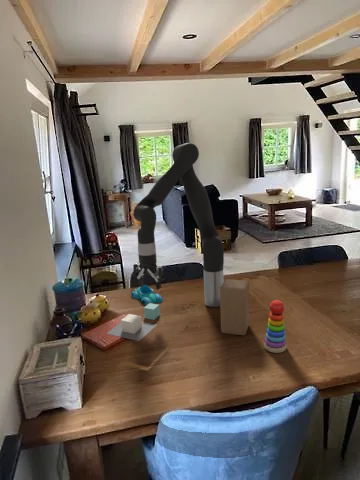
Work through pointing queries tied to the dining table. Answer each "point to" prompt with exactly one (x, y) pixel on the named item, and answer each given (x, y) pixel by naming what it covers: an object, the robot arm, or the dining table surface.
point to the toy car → (146, 295)
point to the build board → (137, 336)
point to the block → (234, 306)
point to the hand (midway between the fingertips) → (149, 287)
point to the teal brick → (151, 311)
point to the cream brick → (131, 323)
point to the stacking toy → (276, 329)
